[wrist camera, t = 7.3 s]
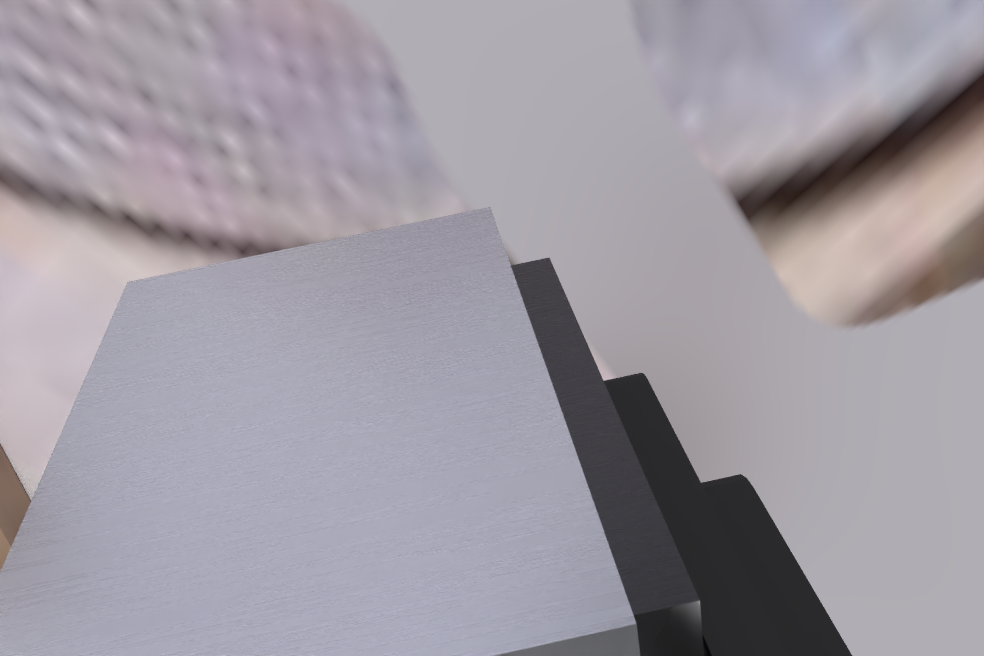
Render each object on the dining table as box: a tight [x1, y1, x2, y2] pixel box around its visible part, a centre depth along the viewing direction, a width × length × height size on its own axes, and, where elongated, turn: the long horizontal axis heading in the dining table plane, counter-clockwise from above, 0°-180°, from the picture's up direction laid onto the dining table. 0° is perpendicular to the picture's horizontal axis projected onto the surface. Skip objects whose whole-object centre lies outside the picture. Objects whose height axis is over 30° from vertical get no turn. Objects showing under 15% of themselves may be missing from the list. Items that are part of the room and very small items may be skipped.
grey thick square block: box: [0, 207, 704, 656], centre depth 9 cm, size 4×6×6 cm
